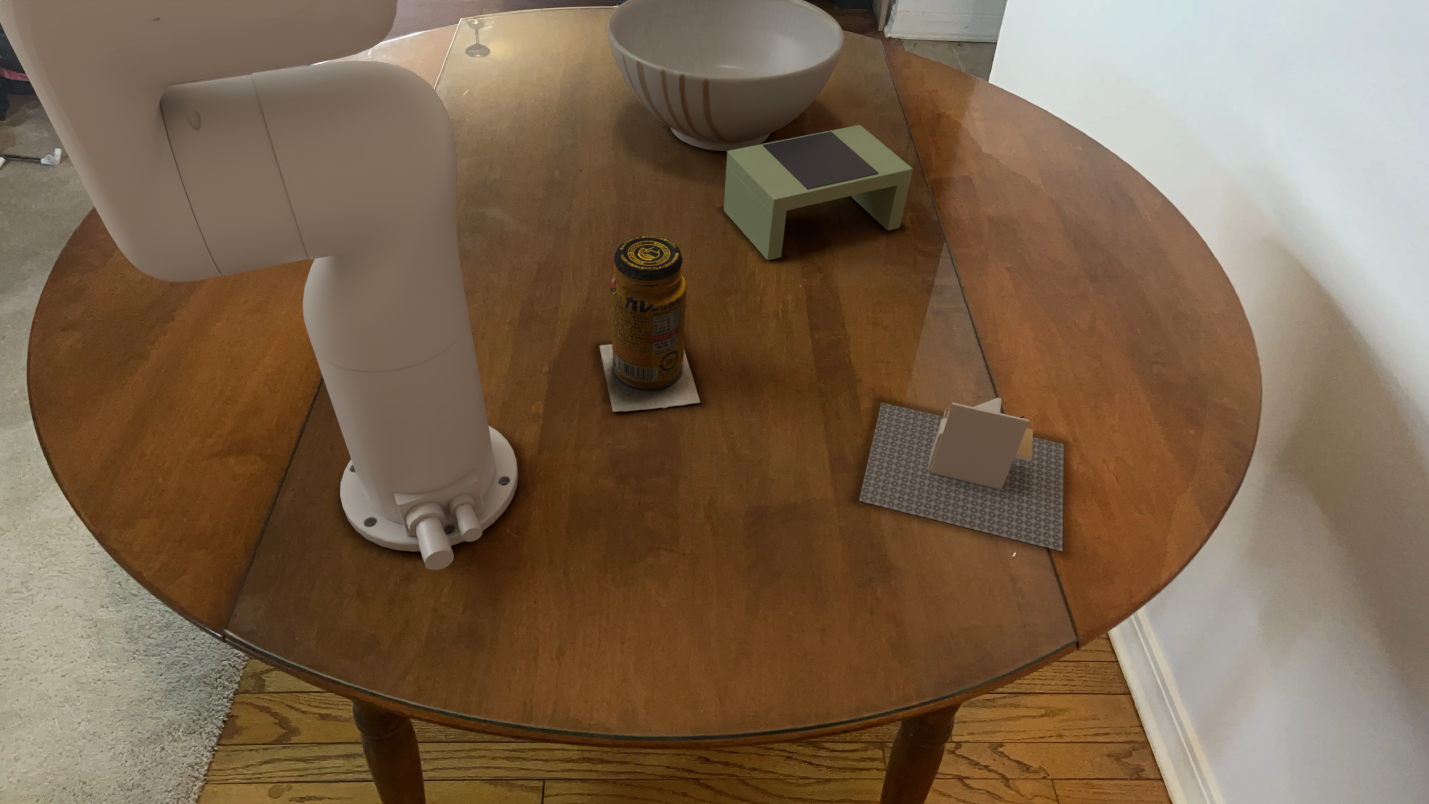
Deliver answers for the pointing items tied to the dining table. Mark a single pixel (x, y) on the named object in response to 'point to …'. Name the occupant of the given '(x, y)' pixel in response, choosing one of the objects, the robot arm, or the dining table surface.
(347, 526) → the dining table surface
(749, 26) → the decorative bowl
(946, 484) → the architectural model
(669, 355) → the condiment
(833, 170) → the shelf
